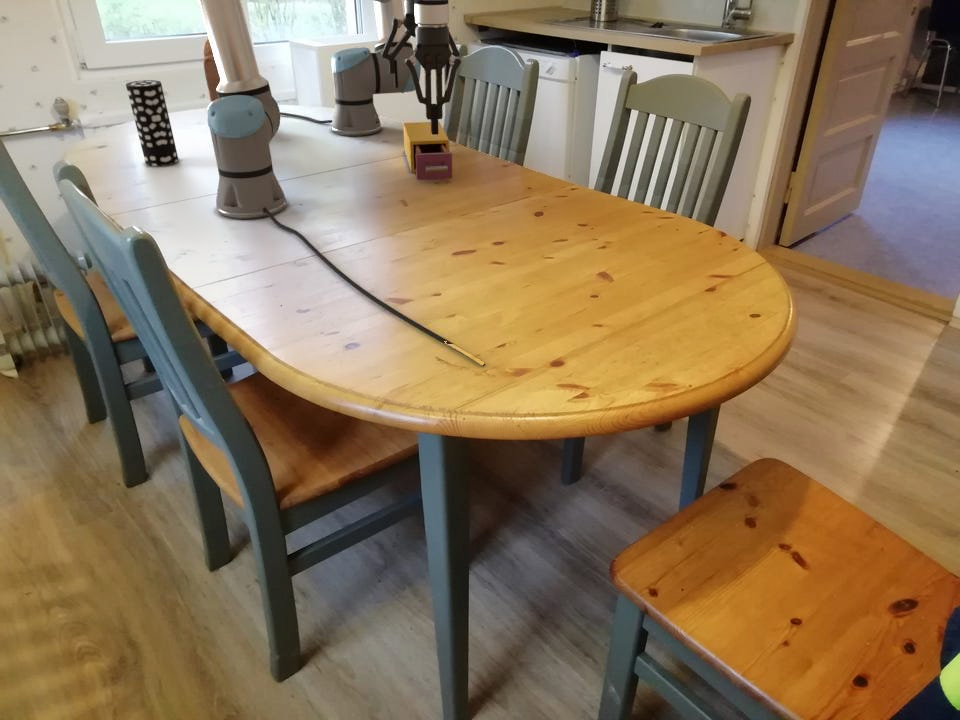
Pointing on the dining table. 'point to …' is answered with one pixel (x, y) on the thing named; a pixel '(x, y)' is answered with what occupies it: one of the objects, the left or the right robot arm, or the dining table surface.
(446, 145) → the cabinet
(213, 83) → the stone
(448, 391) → the dining table surface
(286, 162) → the dining table surface
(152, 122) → the black white spotted cylinder
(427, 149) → the drawer
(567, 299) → the dining table surface
